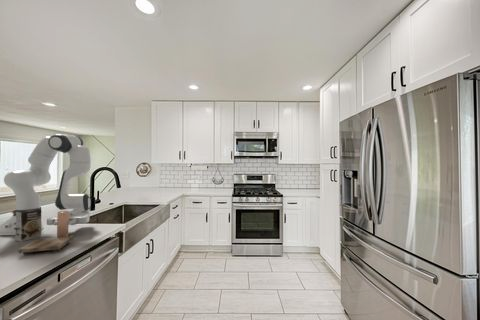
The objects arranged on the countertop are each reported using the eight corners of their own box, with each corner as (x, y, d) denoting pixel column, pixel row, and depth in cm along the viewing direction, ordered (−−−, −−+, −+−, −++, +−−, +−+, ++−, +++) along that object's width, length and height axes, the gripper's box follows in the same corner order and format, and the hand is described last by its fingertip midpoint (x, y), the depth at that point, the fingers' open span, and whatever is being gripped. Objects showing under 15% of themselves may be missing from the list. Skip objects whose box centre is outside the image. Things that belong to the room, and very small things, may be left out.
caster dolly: (18, 257, 99) (18, 249, 99) (37, 245, 113) (37, 239, 113) (59, 253, 104) (59, 245, 104) (73, 242, 117) (73, 236, 117)
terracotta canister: (55, 238, 120) (55, 213, 120) (59, 235, 124) (60, 211, 125) (65, 237, 121) (66, 212, 121) (70, 234, 126) (70, 210, 126)
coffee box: (21, 241, 119) (22, 212, 119) (14, 240, 121) (15, 211, 121) (41, 236, 127) (41, 209, 127) (35, 235, 129) (35, 208, 130)
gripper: (54, 213, 132) (40, 219, 119) (92, 211, 138) (82, 216, 125) (53, 223, 132) (39, 230, 119) (92, 221, 138) (82, 227, 125)
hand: (62, 223), depth 122 cm, fingers closed on terracotta canister, 5 cm apart
